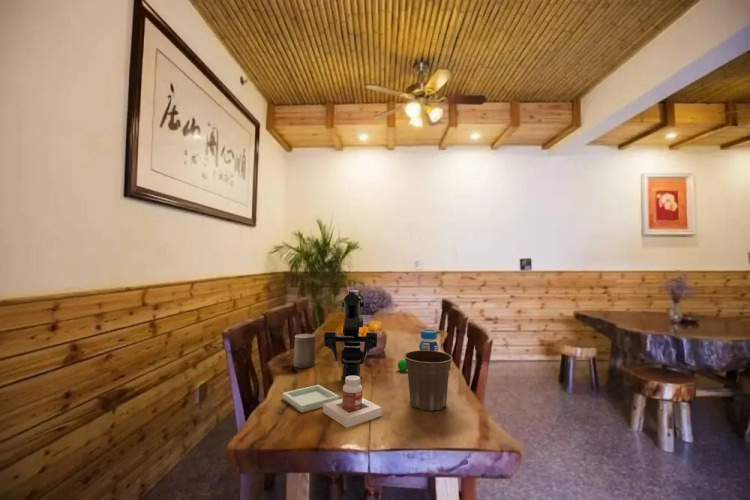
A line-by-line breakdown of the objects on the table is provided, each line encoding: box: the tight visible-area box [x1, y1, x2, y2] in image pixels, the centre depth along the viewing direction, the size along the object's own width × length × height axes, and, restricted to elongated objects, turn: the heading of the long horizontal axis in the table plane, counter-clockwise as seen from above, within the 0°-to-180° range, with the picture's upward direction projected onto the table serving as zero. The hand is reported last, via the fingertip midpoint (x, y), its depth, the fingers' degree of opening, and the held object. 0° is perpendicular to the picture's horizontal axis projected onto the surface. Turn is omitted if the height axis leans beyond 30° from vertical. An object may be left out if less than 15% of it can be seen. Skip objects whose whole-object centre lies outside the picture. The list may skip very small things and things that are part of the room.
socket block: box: [322, 397, 382, 429], centre depth 103 cm, size 13×13×2 cm
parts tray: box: [282, 384, 340, 414], centre depth 113 cm, size 14×14×2 cm
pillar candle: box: [293, 332, 316, 369], centre depth 154 cm, size 10×10×15 cm
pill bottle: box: [341, 376, 363, 413], centre depth 103 cm, size 6×6×11 cm
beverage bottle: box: [418, 329, 439, 351], centre depth 138 cm, size 8×8×20 cm
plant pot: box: [403, 349, 453, 412], centre depth 112 cm, size 16×16×16 cm
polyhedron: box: [397, 359, 407, 372], centre depth 149 cm, size 5×5×5 cm
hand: (349, 360), depth 111 cm, fingers open, 9 cm apart
